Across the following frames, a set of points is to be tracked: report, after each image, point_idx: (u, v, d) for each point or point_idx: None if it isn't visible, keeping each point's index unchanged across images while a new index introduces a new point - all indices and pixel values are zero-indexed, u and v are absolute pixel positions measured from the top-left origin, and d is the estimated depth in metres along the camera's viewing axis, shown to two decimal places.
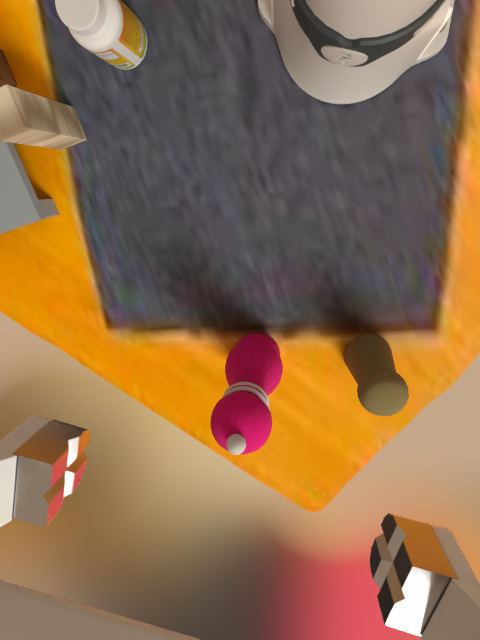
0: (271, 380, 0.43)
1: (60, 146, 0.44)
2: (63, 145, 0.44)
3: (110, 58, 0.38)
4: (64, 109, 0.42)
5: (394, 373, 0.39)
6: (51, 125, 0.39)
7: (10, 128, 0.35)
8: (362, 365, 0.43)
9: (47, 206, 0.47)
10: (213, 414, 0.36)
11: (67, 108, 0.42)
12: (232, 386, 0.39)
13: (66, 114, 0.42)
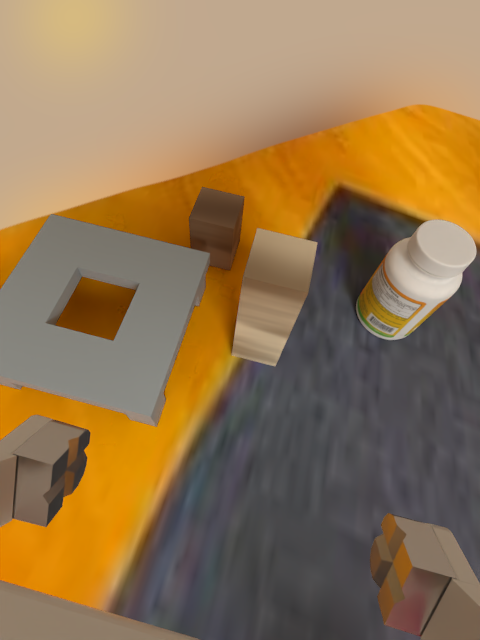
0: None
1: (242, 350, 0.29)
2: (247, 352, 0.29)
3: (398, 312, 0.28)
4: None
5: None
6: None
7: (282, 280, 0.20)
8: None
9: (159, 405, 0.26)
10: None
11: None
12: None
13: None
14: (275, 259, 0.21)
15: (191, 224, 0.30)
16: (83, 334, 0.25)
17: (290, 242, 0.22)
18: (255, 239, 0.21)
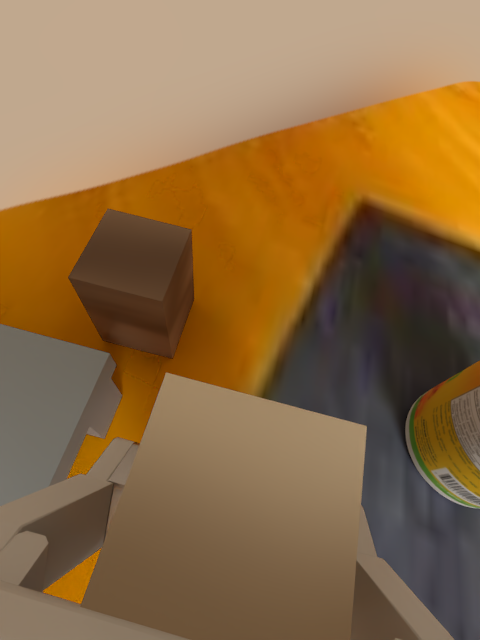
0: None
1: None
2: None
3: None
4: None
5: None
6: None
7: (239, 636, 0.05)
8: None
9: None
10: None
11: None
12: None
13: None
14: (217, 518, 0.06)
15: (78, 288, 0.14)
16: None
17: (275, 430, 0.06)
18: (152, 422, 0.06)
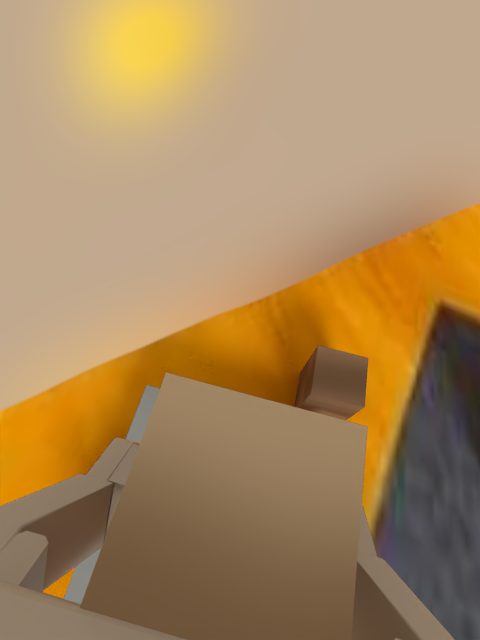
0: None
1: None
2: None
3: None
4: None
5: None
6: None
7: (240, 639, 0.05)
8: None
9: None
10: None
11: None
12: None
13: None
14: (218, 519, 0.06)
15: (311, 396, 0.25)
16: None
17: (275, 430, 0.06)
18: (152, 422, 0.06)
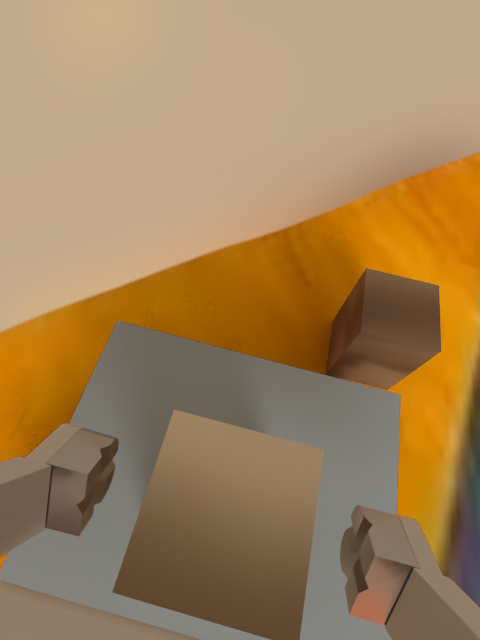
0: None
1: None
2: None
3: None
4: None
5: None
6: None
7: (226, 600, 0.07)
8: None
9: None
10: None
11: None
12: None
13: None
14: (212, 518, 0.08)
15: (359, 338, 0.17)
16: None
17: (255, 453, 0.08)
18: (164, 447, 0.08)
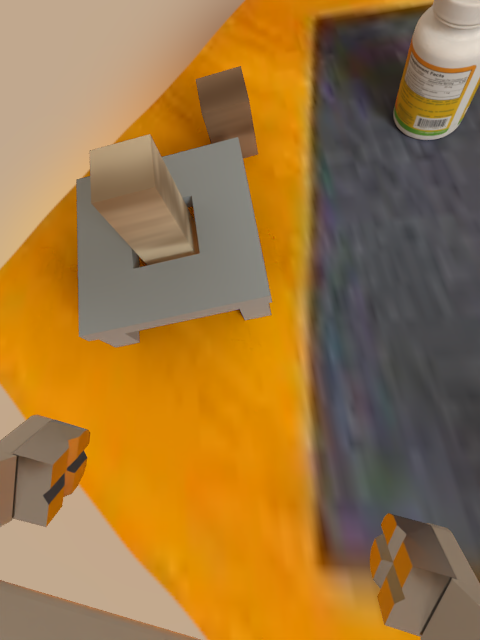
0: None
1: None
2: None
3: (448, 95, 0.26)
4: (194, 226, 0.28)
5: None
6: (181, 223, 0.24)
7: (128, 188, 0.20)
8: None
9: None
10: None
11: None
12: None
13: (195, 233, 0.28)
14: (115, 171, 0.20)
15: (206, 120, 0.28)
16: (171, 261, 0.25)
17: (124, 147, 0.21)
18: (91, 162, 0.21)
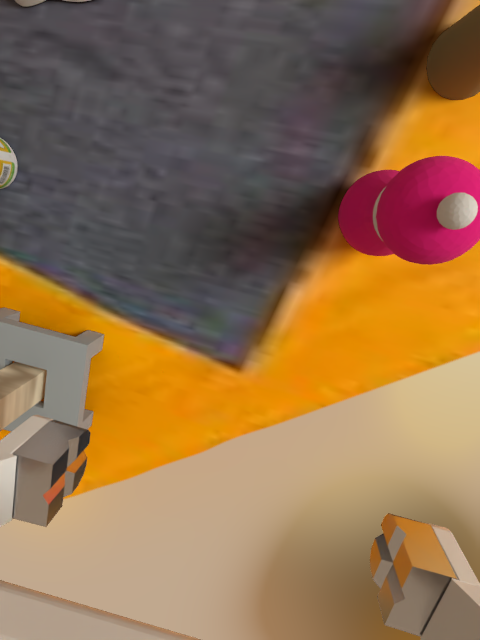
0: None
1: None
2: None
3: None
4: None
5: None
6: (23, 378, 0.39)
7: None
8: (468, 42, 0.27)
9: (87, 336, 0.42)
10: (390, 240, 0.22)
11: None
12: (374, 216, 0.25)
13: None
14: None
15: None
16: (46, 387, 0.41)
17: None
18: None
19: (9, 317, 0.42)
